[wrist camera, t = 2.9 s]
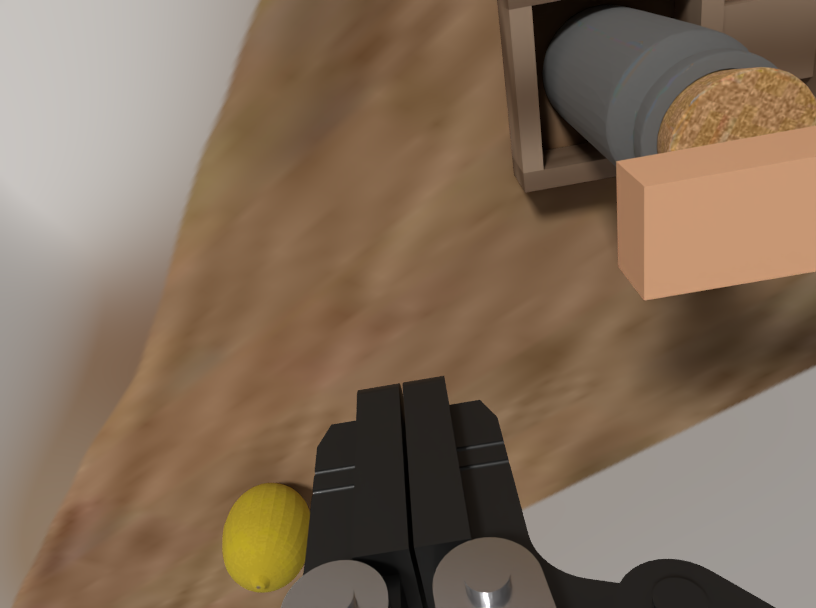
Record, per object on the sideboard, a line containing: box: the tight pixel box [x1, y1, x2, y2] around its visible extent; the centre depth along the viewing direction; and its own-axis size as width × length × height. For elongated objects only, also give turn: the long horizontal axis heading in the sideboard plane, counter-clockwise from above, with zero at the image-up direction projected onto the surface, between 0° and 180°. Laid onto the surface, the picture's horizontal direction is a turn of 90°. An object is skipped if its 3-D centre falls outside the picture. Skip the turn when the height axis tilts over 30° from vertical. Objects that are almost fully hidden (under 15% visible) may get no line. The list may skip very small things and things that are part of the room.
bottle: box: [542, 5, 816, 166], centre depth 27 cm, size 6×6×15 cm
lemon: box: [222, 483, 310, 593], centre depth 42 cm, size 6×6×8 cm
